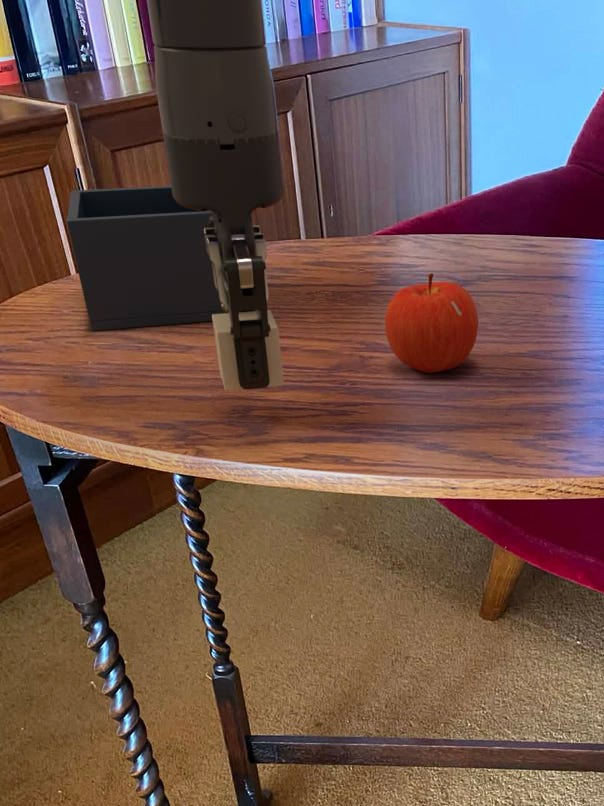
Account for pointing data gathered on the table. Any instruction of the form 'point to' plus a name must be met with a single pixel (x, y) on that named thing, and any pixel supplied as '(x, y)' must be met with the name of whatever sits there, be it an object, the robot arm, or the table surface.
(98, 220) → the chest
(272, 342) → the block
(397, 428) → the table surface
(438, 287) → the apple
